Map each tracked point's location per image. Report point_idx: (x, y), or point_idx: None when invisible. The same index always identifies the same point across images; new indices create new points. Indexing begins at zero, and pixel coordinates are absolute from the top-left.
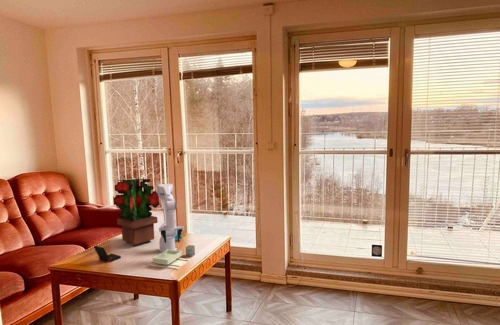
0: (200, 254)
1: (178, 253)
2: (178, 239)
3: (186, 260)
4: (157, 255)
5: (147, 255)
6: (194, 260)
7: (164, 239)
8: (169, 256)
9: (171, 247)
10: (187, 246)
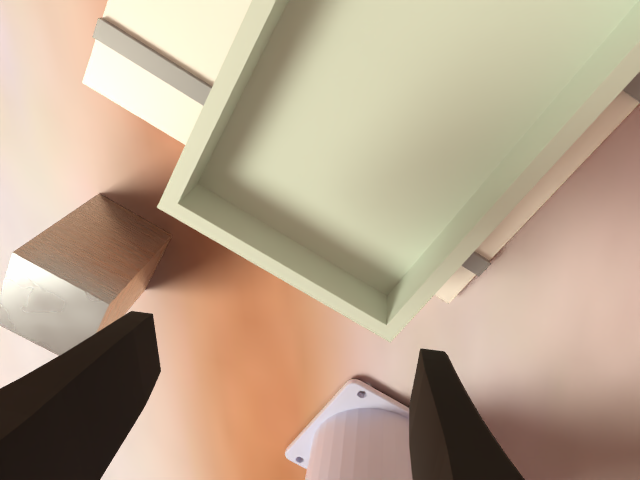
0: (16, 245)
1: (201, 115)
2: (92, 345)
3: (118, 30)
4: (599, 93)
5: (635, 396)
6: (34, 62)
7: (469, 414)
8: (365, 141)
9: (343, 446)
10: (86, 318)
